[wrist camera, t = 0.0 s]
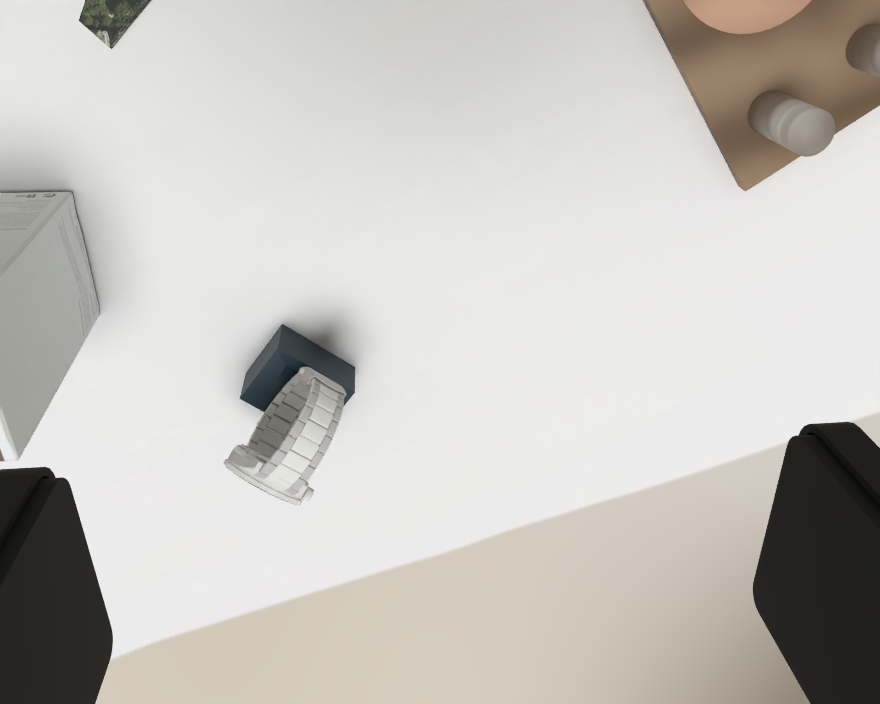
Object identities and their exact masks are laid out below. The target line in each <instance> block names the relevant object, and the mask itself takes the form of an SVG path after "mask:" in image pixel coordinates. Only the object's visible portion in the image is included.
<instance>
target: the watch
mask: <svg viewBox="0 0 880 704" xmlns="http://www.w3.org/2000/svg"><path fill="white" fill-rule="evenodd" d="M354 393H355V367H353V366H351V365H350V364H348V363H346V362H345V361H343V360H341V359H340V358H338V357H336V356H335V355H333V354H331V353H330V352H328V351H326V350H325V349H323V348H321V347H320V346H318V345H316V344H315V343H313V342H311V341H310V340H308V339H306V338H305V337H303V336H301V335H300V334H298V333H296V332H295V331H293V330H291V329H290V328H288V327H286V326H285V325H283V324H282V325H281V327H280V328H279V329H278V331H277V332H276V333H275V335H274V336H273V338H272V339H271V340H270V342H269V343H268V344H267V346H266V347H265V348H264V350H263V351H262V352H261V354H260V355H259V356H258V358H257V359H256V361H255V362H254V363H253V365H252V366H251V367H250V369H249V370H248V371H247V373H246V376H245V380H244V384H243V388H242V392H241V396H240V399H241V400H243V401H245V402H247V403H249V404H251V405H252V406H254V407H256V408H258V409H260V410H261V411H263V412H264V415H266V416H268V417H269V418H268V417H266V416H264V415H263V416H262V418H261V419H260V421H259V423H258V424H257V426H256V429H255V430H254V432H253V434H252V436H251V438H250V440H249V442H248V444H247V446H245V445H243V444H242V445H237V446H236V447H235V448H234V449H233V451H232V452H231V454H230V456H229V458H228V459H226V460H225V462H224V465H225V466H226V467H227V468H228V469H229V470H231V471H232V472H233V473H235V474H236V475H237V476H239V477H240V478H242V479H244V480H245V481H247V482H248V483H250V484H252V485H253V486H255V487H257V488H259V489H261V490H263V491H264V492H266V493H268V494H270V495H272V496H275V497H277V498H279V499H281V500H284V501H286V502H289V503H292V504H295V505H300V504H301V502H302V500H301V499H303V500H305V501H309V500H310V499H311V497H312V495H313V492H314V490H313V489H312V488H310V487H308V482H307V481H308V480H309V478H310V477H311V475H312V474H313V473H314V471H315V468H317V467H318V465H319V464H320V462H321V460H322V458H323V457H324V454H325V453H326V452H327V450H328V448H329V446H330V443H331V441H332V438H333V436H334V434H335V431H336V429H337V426H338V423H339V421H340V417H341V414H342V409H343V406H344V405H345V404H346V403H347V401H348V400H349V399H350V398H351V396H352V395H353V394H354ZM266 427H267V428H266ZM268 428H269V429H270V430H269V429H268ZM290 429H291V430H290ZM260 430H261V431H260ZM271 430H272V431H271ZM273 431H274V432H273ZM275 432H276V433H275ZM277 433H278V434H277ZM279 434H280V435H279ZM300 434H301V435H303V436H304V437H303V436H301V435H300ZM281 435H282V436H283V437H282V436H281ZM294 437H295V438H294ZM305 437H306V438H305ZM307 438H308V439H307ZM309 439H310V440H309ZM311 440H312V441H314V442H315V443H314V442H312V441H311ZM316 443H317V444H316ZM318 444H319V445H318ZM319 451H320V452H319ZM321 452H322V453H321ZM298 453H299V454H298ZM323 453H324V454H323Z"/></svg>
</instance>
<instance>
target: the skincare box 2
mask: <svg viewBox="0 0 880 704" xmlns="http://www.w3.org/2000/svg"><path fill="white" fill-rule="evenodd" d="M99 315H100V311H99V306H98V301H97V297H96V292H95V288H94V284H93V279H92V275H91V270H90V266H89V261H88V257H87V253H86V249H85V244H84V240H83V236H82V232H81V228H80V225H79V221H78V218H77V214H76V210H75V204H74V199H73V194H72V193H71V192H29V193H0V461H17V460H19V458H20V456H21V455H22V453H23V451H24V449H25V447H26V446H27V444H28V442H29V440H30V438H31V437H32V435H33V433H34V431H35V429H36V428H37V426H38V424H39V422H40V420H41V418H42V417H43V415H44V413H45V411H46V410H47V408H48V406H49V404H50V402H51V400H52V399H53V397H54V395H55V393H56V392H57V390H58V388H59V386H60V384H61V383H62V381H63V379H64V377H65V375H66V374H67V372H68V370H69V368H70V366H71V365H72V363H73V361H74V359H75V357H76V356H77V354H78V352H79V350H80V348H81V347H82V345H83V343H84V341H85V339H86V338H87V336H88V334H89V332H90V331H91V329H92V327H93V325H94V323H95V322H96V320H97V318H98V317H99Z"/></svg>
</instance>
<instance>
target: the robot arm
mask: <svg viewBox="0 0 880 704" xmlns="http://www.w3.org/2000/svg"><path fill="white" fill-rule="evenodd" d="M753 595H754V601H755V605H756V608H757V610H758V612H759V614H760V616H761V617H762V619H763V621H764V623H765V625H766V626H767V628H768V630H769V632H770V633H771V635H772V637H773V639H774V640H775V642H776V644H777V646H778V647H779V649H780V651H781V653H782V654H783V656H784V658H785V660H786V662H787V663H788V665H789V667H790V669H791V670H792V672H793V674H794V675H795V677H796V679H797V681H798V683H799V684H800V686H801V688H802V690H803V691H804V693H805V695H806V697H807V698H808V700H809V702H810V704H880V448H879V447H878V446H877V445H876V444H875V443H874V442H873V441H872V440H871V439H870V438H869V437H868V436H867V435H866V434H865V433H864V432H863V430H861V428H860V427H858V426H857V425H855V424H854V423H850V422H839V423H821V424H809V425H806V426H804V427H803V429H802V430H801V431H800V434H799V436H794V437H792V438H791V439H790V440H789V442H788V445H787V448H786V452H785V456H784V460H783V465H782V469H781V473H780V477H779V481H778V485H777V489H776V493H775V497H774V501H773V505H772V510H771V513H770V518H769V521H768V525H767V529H766V534H765V538H764V542H763V546H762V550H761V554H760V558H759V562H758V566H757V570H756V574H755V578H754V583H753ZM112 644H113V636H112V629H111V625H110V621H109V618H108V614H107V611H106V607H105V604H104V600H103V597H102V594H101V590H100V587H99V583H98V580H97V576H96V573H95V569H94V566H93V563H92V559H91V556H90V552H89V549H88V545H87V542H86V538H85V535H84V531H83V528H82V525H81V521H80V518H79V514H78V511H77V507H76V504H75V500H74V497H73V494H72V490H71V487H70V484H69V482H68V481H67V480H66V479H65V478H55V475H54V473H53V472H52V471H51V470H50V468H47V467H37V468H19V469H1V470H0V704H95V702H96V699H97V696H98V693H99V690H100V687H101V684H102V682H103V679H104V676H105V673H106V670H107V667H108V664H109V661H110V657H111V653H112Z"/></svg>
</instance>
